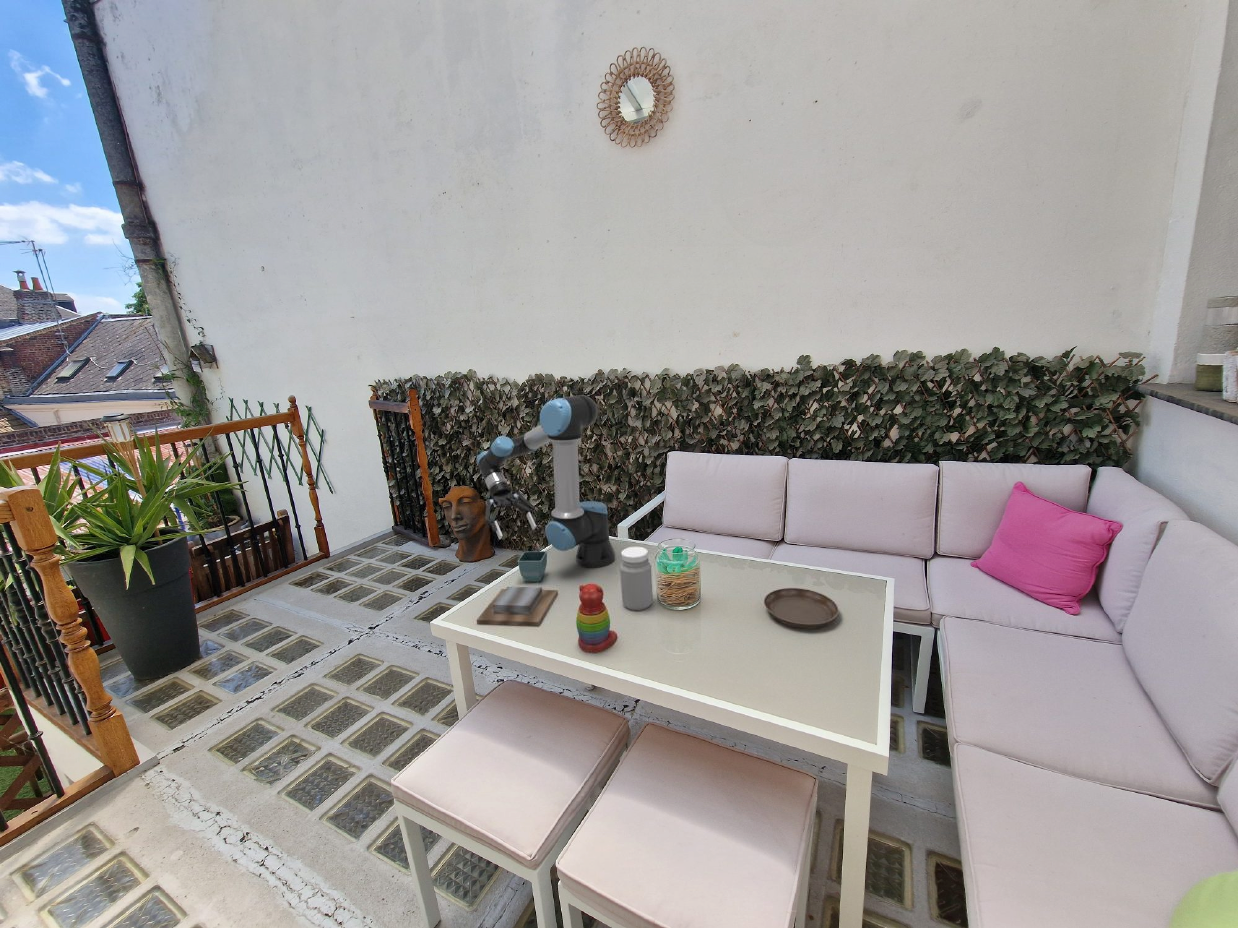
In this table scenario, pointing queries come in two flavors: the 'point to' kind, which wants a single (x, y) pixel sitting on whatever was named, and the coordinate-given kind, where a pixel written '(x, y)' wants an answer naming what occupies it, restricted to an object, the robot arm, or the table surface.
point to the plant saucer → (801, 607)
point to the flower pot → (532, 565)
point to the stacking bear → (593, 620)
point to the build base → (519, 618)
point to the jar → (636, 578)
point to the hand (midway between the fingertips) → (518, 532)
